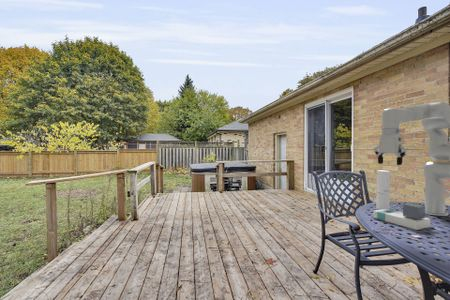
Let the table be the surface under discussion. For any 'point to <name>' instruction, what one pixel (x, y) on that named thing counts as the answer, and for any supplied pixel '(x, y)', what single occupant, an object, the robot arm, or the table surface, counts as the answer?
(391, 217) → the docking board
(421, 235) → the table surface
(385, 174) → the cylindrical container
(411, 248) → the table surface
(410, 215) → the grey rectangular block
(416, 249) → the table surface
